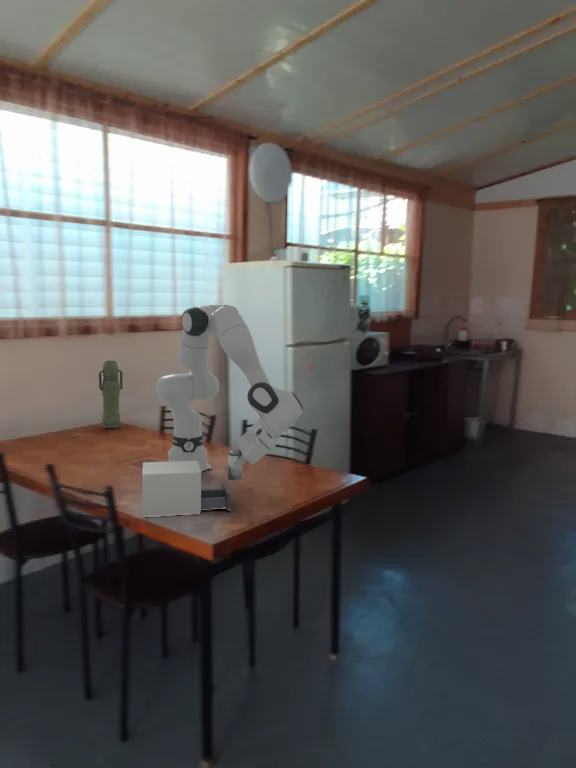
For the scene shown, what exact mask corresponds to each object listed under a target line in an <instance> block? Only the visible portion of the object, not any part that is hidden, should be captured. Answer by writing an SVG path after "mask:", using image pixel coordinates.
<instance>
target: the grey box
mask: <svg viewBox="0 0 576 768" xmlns="http://www.w3.org/2000/svg"><path fill="white" fill-rule="evenodd" d="M141 480H142V483H141V484H142V517H143V516H149V515H165V514H178V513H193V512H201V513H202V511H201V490H202V472H201V470H200V467H199V463H198V461H174V462H168V461H150V462H149V461H148V462H142V479H141Z"/></svg>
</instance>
